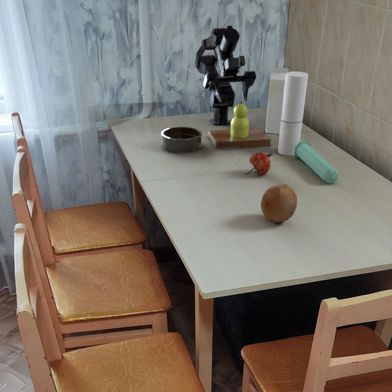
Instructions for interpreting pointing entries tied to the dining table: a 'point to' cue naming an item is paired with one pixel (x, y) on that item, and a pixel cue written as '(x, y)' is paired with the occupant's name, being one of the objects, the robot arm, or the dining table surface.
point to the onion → (279, 203)
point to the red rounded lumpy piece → (260, 162)
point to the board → (239, 139)
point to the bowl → (181, 139)
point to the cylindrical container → (292, 111)
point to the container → (316, 162)
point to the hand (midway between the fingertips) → (233, 101)
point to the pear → (240, 122)
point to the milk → (275, 100)
